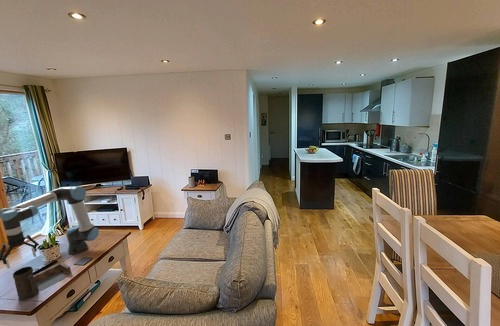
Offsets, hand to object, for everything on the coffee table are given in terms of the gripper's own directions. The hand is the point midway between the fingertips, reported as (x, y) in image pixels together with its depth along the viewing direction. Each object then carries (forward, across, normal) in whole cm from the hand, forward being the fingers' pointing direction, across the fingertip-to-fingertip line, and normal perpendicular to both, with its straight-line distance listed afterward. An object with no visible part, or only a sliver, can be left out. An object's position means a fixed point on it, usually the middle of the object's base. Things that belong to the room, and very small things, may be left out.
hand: (22, 261), depth 157 cm
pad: (+27, -14, -5) cm, 30 cm away
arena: (+27, -15, -8) cm, 32 cm away
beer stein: (+27, 0, 0) cm, 27 cm away
